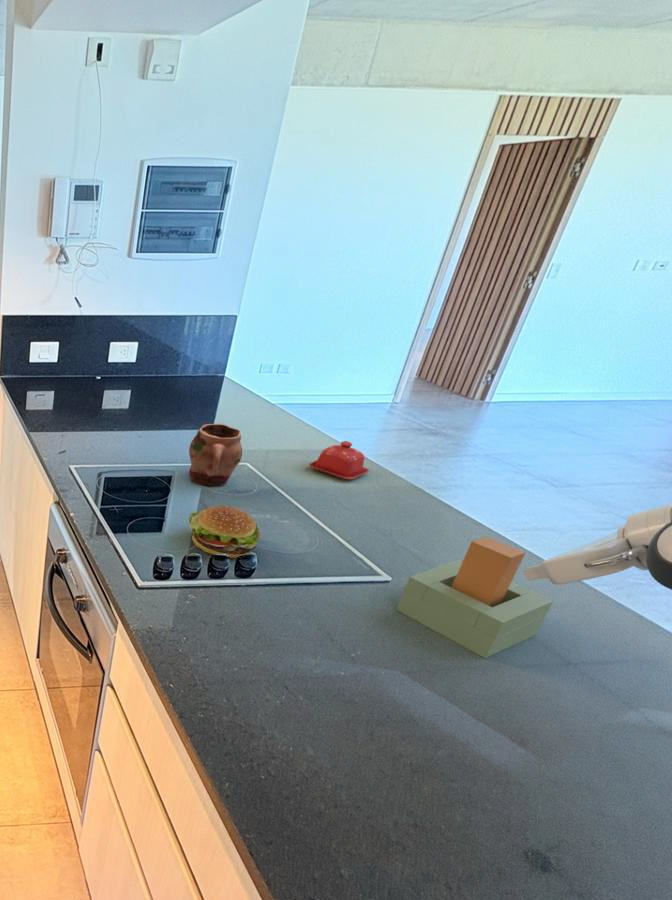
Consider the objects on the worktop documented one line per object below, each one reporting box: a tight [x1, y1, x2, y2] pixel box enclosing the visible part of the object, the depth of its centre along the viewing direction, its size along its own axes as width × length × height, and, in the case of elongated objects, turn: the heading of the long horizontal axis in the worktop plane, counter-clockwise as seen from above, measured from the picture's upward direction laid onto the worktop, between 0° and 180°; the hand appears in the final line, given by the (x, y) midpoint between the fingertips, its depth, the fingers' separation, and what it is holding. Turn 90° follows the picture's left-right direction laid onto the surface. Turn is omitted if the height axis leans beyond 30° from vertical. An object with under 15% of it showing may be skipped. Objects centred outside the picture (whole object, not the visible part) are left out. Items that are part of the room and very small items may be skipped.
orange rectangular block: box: [451, 536, 526, 607], centre depth 100 cm, size 4×6×11 cm
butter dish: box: [308, 440, 371, 481], centre depth 161 cm, size 12×12×8 cm
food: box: [188, 505, 261, 559], centre depth 126 cm, size 14×14×8 cm
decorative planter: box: [188, 423, 243, 487], centre depth 154 cm, size 20×12×14 cm, turn 165°
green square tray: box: [396, 558, 554, 659], centre depth 103 cm, size 14×14×7 cm
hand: (545, 566), depth 93 cm, fingers open, 8 cm apart
